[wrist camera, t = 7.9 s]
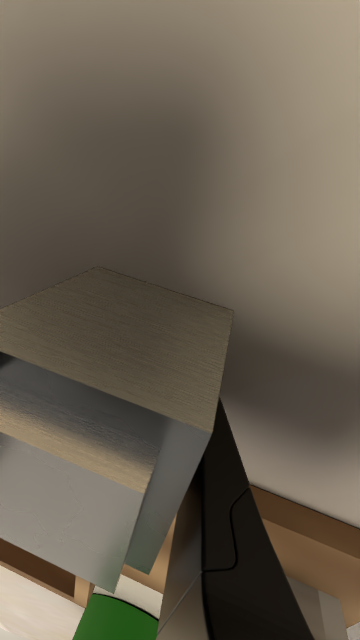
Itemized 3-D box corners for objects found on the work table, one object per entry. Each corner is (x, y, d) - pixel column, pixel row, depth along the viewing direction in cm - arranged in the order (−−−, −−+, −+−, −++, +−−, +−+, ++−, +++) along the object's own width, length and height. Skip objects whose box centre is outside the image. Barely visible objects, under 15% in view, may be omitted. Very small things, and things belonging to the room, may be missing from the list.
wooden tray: (289, 627, 17) (300, 756, 13) (-10, 487, 19) (-75, 558, 16) (410, 550, 11) (495, 742, 7) (-39, 367, 14) (-153, 433, 10)
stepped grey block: (189, 428, 11) (136, 618, 6) (88, 389, 12) (-36, 531, 7) (233, 310, 8) (203, 483, 3) (97, 266, 9) (-106, 355, 4)
